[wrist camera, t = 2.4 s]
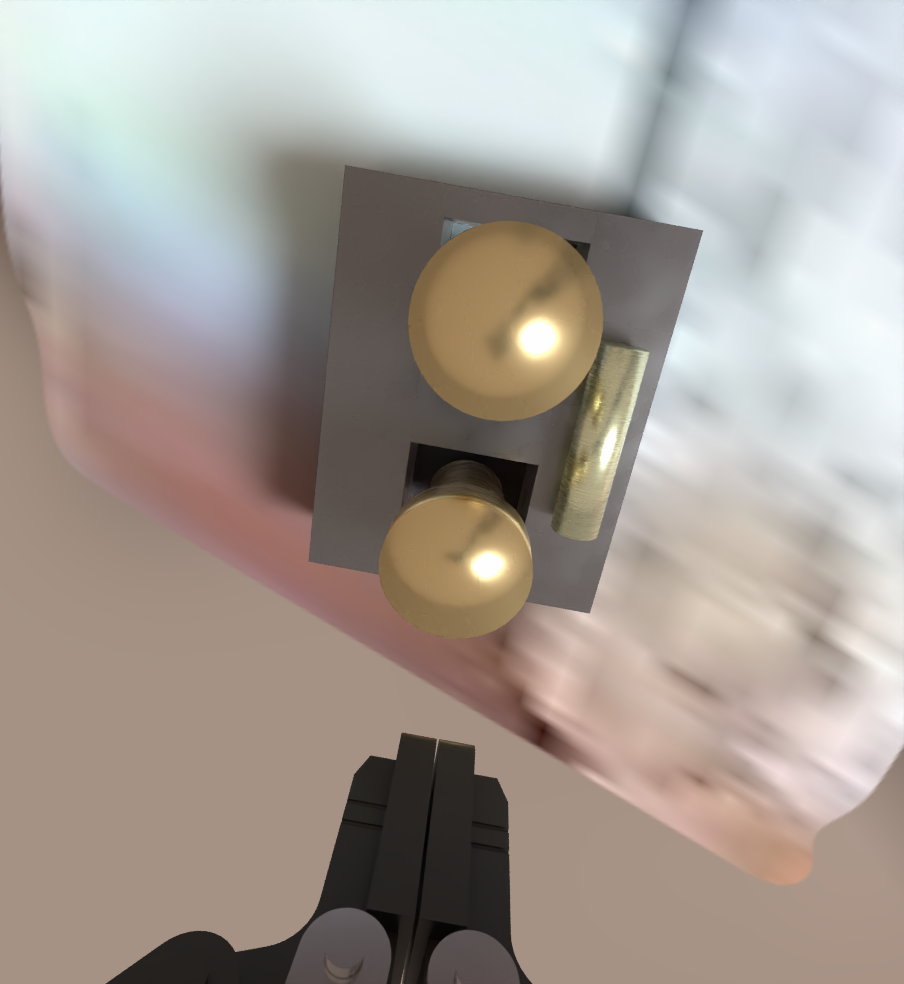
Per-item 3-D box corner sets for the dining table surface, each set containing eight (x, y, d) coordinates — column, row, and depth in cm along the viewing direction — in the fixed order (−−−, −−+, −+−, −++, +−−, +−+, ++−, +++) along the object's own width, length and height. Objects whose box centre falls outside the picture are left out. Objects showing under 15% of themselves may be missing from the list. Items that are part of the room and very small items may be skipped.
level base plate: (369, 178, 24) (331, 157, 19) (671, 233, 24) (721, 228, 19) (332, 522, 30) (295, 582, 24) (578, 567, 30) (596, 638, 24)
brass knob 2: (416, 429, 25) (389, 488, 19) (536, 451, 25) (548, 517, 19) (400, 537, 27) (370, 623, 21) (511, 557, 27) (515, 650, 21)
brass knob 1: (445, 218, 21) (423, 204, 15) (588, 243, 21) (626, 240, 15) (424, 361, 23) (395, 402, 17) (555, 385, 23) (576, 436, 17)
